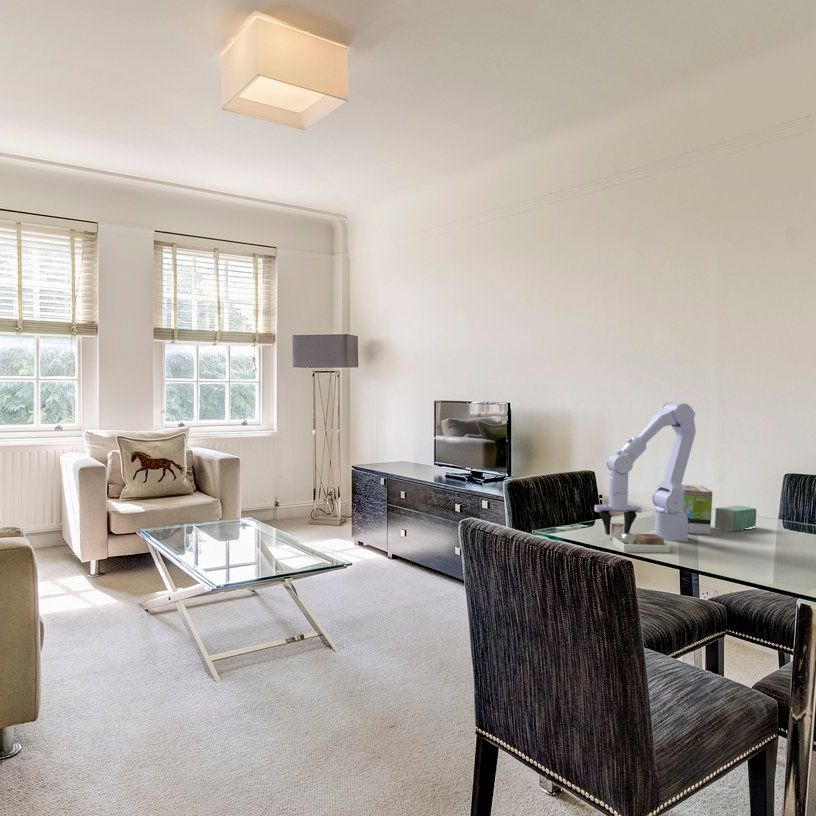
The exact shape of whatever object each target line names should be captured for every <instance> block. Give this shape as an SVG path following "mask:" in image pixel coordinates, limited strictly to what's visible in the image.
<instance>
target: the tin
mask: <svg viewBox="0 0 816 816" xmlns="http://www.w3.org/2000/svg"><path fill="white" fill-rule="evenodd" d="M636 534H637V533H631V532H629V533H624V532H623V533H622V534H621V542H622V543H624V544H625V545H636V540H637V535H636Z"/></svg>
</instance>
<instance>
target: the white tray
mask: <svg viewBox="0 0 816 816" xmlns="http://www.w3.org/2000/svg"><path fill="white" fill-rule="evenodd" d="M611 540H612V542H611V543H612V545H614V546H615V547H617V549H619V550H620V551H622V552H624V553H666V554H667V553H670V550H671V546H670V544H668V543H666V542H664V543H663V545H625V544H624V543H622V542H621V537H612V539H611Z"/></svg>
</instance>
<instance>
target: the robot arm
mask: <svg viewBox="0 0 816 816" xmlns="http://www.w3.org/2000/svg"><path fill="white" fill-rule="evenodd" d="M695 417H696V412H695V411H694V409H693V407H692V406H690V404H688V403H686V402H685V403H676V402H675V403H674V402H665V403H664V404H663V405H661V407H660V408H659V409H657V411H656V413H655V415H654V416H653V418H652V419H651V420H650V421H649V423H647V425H646V426H645V427H644V428H643V429H642V431H641V432H640V433H639V434H638V435H637V436H631V438H629V437H628V438H627V439H626V443H625V444H624V445H623V446H622V447H621V448H620V449H617V451H616V454H615V453H614V454H612V455H611V456H610V457H608V461H607V462H606V467H607V468H608V470H609V484H608V486H609V488H608V504H594V512H596V513H599V515H600V517H601V520H602V523H603V526H604V527H603V528H604V531H605V534H606V535H607V536H611V523H612V522H611V521H612V516H613V515H612V514H611V513H623V518H624V519H623V520H624V522H623V524H624V526H623V533H630V530H631V528H632V524H633V523H634V521H635V519H636V518H637V515H638V514H637V513H639V514H640V513H641V514H642V506H641V505H633V504H631V505H630V504H628V499H629V498H628V496H629V474H630V472H631V471H632V470H633V466H634V463H635V461H636V460H637V459H638V458H640V456H641V455H642V454H643V453H644V452H645V451H646V450H647V443H648V442H650V440H651V439H652V438H653V437H655V436H656V435H657V434H658V432H660V431H661V430H662V429H663V428H665V427H667V426H668V427H669V426H671V428H672V429H673V431H674V432H675V438H674V442H673V445H672V450H671V453H670V456H669V459H668V463H667V467H666V471H665V474H664V478H663V480H661V482H659V483H658V485H657V488H656V490H654V492H653V493H652V497H651V501H652V503H653V505H654V506H655V514H654V515H655V517H654V518H655V520H654V521H655V523H654V534H656V535H658V536H660V537H662V538H663V539H664V542H667V541H668V542H669V541H670V542H678V541H679V542H688V541H689V539H688V533H687V531H688V519H687V515H686V513H684V512H680V510H681V509H682V508H683V506H684V489H683V487H682V485H683V484H682V483H683V480H684V476H685V474H686V473H685V472H686V469H687V465H688V462H689V458H690V454H691V451H692V447H693V443H694V441H695V436H696V431H697V430H696V424H695Z"/></svg>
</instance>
